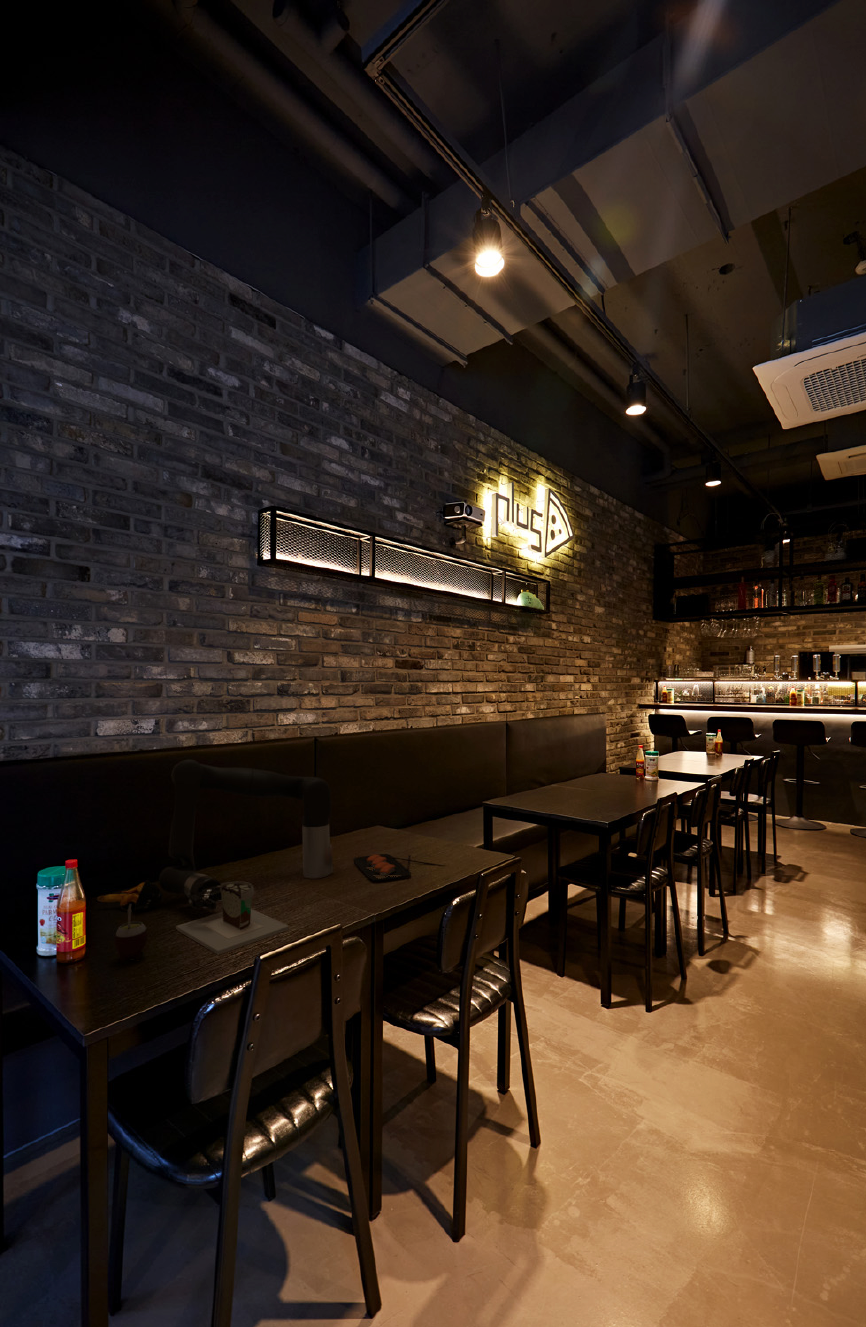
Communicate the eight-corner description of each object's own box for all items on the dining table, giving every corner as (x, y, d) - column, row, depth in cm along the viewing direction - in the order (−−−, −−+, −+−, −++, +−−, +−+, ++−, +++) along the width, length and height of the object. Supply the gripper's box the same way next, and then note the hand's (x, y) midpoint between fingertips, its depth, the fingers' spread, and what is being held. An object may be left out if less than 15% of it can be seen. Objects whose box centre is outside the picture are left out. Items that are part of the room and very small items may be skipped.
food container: (263, 924, 164) (263, 887, 164) (242, 931, 159) (242, 893, 160) (240, 913, 172) (240, 877, 173) (220, 920, 168) (219, 883, 168)
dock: (243, 908, 179) (243, 904, 180) (288, 929, 163) (288, 925, 163) (176, 929, 165) (176, 925, 165) (218, 955, 148) (218, 950, 148)
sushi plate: (351, 863, 225) (350, 852, 225) (426, 853, 236) (426, 843, 236) (371, 886, 198) (371, 874, 198) (456, 873, 209) (456, 862, 209)
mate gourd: (132, 951, 152) (132, 890, 153) (156, 955, 149) (155, 893, 150) (106, 963, 145) (106, 900, 146) (130, 968, 142) (130, 904, 143)
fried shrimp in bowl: (158, 898, 177) (94, 883, 174) (150, 927, 180) (88, 913, 177) (169, 877, 186) (108, 862, 183) (162, 905, 189) (102, 891, 186)
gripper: (177, 882, 171) (204, 894, 160) (225, 870, 182) (253, 881, 170) (178, 909, 171) (204, 923, 160) (225, 895, 181) (253, 908, 170)
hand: (229, 901), depth 165 cm, fingers open, 8 cm apart
